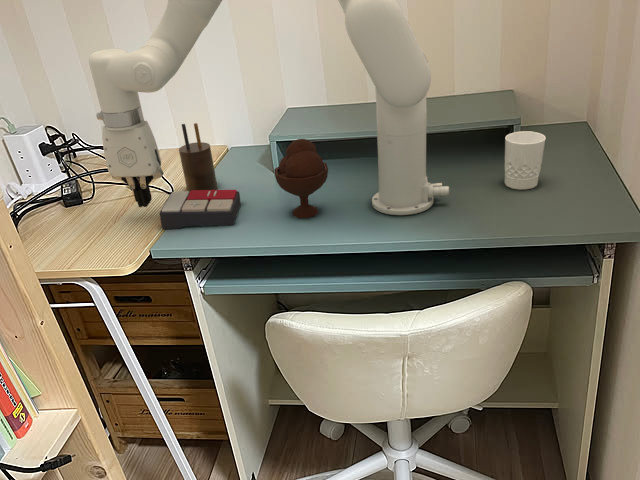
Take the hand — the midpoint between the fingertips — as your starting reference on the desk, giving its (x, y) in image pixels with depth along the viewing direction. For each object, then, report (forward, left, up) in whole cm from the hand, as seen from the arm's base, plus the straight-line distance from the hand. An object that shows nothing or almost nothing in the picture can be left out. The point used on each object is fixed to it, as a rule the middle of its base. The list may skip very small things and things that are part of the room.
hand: (144, 204), depth 136 cm
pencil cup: (-8, -15, -3) cm, 17 cm away
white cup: (-79, -11, -3) cm, 80 cm away
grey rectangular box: (-12, 0, -3) cm, 13 cm away
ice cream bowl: (-34, 0, -3) cm, 34 cm away
